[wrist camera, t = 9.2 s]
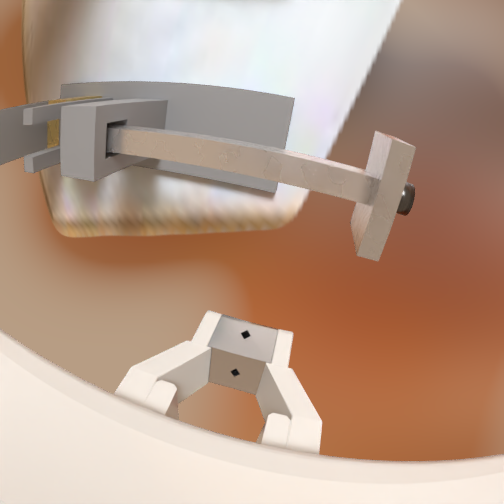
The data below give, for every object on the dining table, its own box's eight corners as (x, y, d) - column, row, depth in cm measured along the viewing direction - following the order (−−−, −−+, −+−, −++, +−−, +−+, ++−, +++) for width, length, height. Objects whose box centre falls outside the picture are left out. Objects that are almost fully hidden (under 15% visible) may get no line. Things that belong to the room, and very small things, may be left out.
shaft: (101, 91, 24) (57, 95, 19) (412, 143, 21) (438, 155, 16) (97, 168, 28) (57, 185, 23) (384, 232, 25) (398, 266, 20)
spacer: (84, 96, 30) (48, 100, 25) (102, 95, 30) (65, 99, 24) (82, 144, 33) (47, 155, 28) (99, 146, 33) (64, 157, 27)
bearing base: (66, 84, 31) (-18, 95, 19) (294, 98, 28) (274, 92, 15) (63, 153, 36) (-14, 184, 23) (276, 190, 32) (246, 248, 20)
